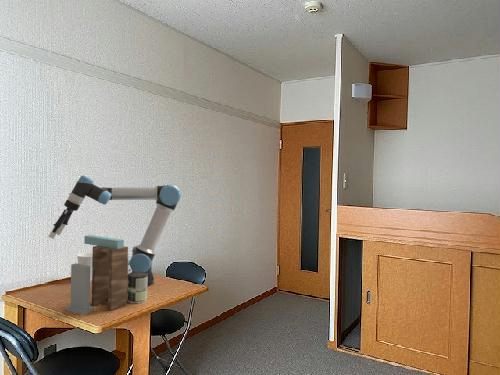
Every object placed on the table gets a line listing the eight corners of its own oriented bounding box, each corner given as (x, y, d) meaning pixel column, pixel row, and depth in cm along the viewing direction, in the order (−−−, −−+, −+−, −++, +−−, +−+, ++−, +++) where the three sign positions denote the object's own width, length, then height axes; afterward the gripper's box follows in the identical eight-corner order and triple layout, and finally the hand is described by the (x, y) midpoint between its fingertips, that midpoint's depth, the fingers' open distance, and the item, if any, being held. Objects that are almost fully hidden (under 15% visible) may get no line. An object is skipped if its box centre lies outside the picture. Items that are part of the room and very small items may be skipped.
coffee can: (125, 303, 193) (125, 276, 193) (129, 297, 204) (130, 271, 203) (145, 303, 194) (146, 276, 194) (149, 297, 205) (149, 271, 204)
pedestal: (65, 309, 181) (66, 264, 181) (77, 305, 187) (78, 262, 187) (81, 314, 176) (82, 268, 175) (94, 310, 182) (95, 265, 181)
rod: (84, 243, 195) (84, 236, 195) (90, 242, 198) (90, 235, 198) (117, 248, 184) (117, 240, 184) (123, 247, 187) (123, 239, 187)
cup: (72, 281, 229) (72, 255, 229) (84, 276, 241) (85, 252, 240) (89, 283, 226) (89, 257, 226) (100, 278, 238) (101, 253, 238)
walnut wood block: (91, 305, 188) (92, 246, 187) (107, 300, 197) (108, 243, 196) (111, 311, 182) (112, 249, 181) (126, 305, 190) (128, 246, 190)
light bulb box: (133, 271, 257) (133, 256, 257) (128, 274, 250) (128, 258, 250) (119, 270, 259) (119, 255, 259) (113, 273, 252) (114, 257, 252)
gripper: (72, 197, 219) (53, 230, 217) (62, 199, 195) (40, 236, 193) (84, 203, 221) (65, 235, 218) (75, 206, 197) (55, 242, 194)
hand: (54, 236), depth 205 cm, fingers open, 13 cm apart
